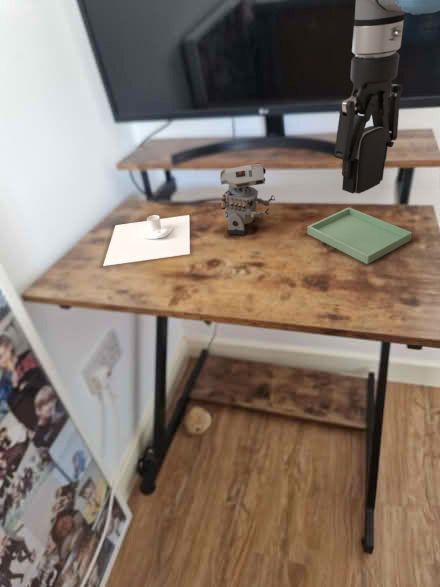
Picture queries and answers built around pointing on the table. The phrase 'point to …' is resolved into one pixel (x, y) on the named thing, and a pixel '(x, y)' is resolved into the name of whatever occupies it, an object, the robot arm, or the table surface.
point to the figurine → (242, 196)
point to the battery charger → (370, 158)
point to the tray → (359, 234)
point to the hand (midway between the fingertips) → (362, 184)
